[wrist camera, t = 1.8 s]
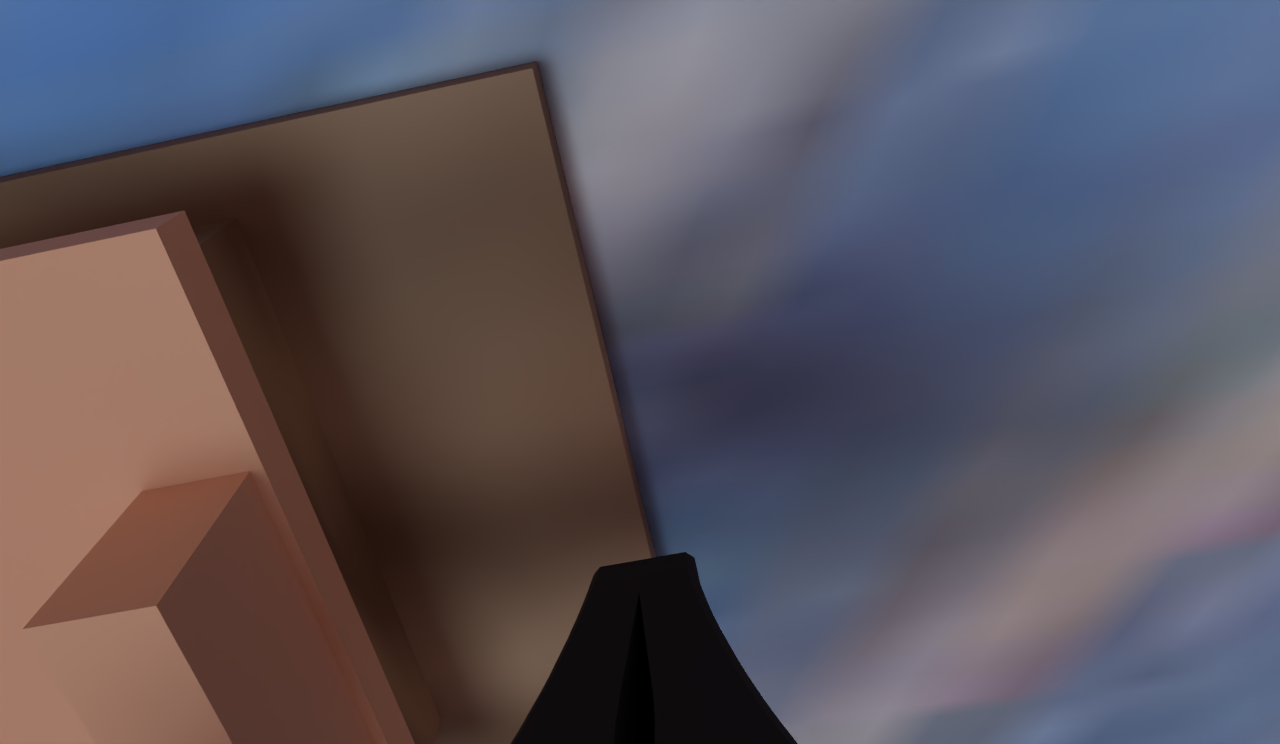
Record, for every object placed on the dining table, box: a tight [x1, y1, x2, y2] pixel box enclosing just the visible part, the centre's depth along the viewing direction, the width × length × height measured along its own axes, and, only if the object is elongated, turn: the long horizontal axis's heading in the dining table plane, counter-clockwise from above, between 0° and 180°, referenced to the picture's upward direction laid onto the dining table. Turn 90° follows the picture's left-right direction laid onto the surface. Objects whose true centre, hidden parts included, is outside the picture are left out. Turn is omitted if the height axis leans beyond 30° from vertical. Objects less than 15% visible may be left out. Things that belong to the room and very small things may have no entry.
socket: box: [0, 62, 656, 744], centre depth 17 cm, size 14×20×3 cm
